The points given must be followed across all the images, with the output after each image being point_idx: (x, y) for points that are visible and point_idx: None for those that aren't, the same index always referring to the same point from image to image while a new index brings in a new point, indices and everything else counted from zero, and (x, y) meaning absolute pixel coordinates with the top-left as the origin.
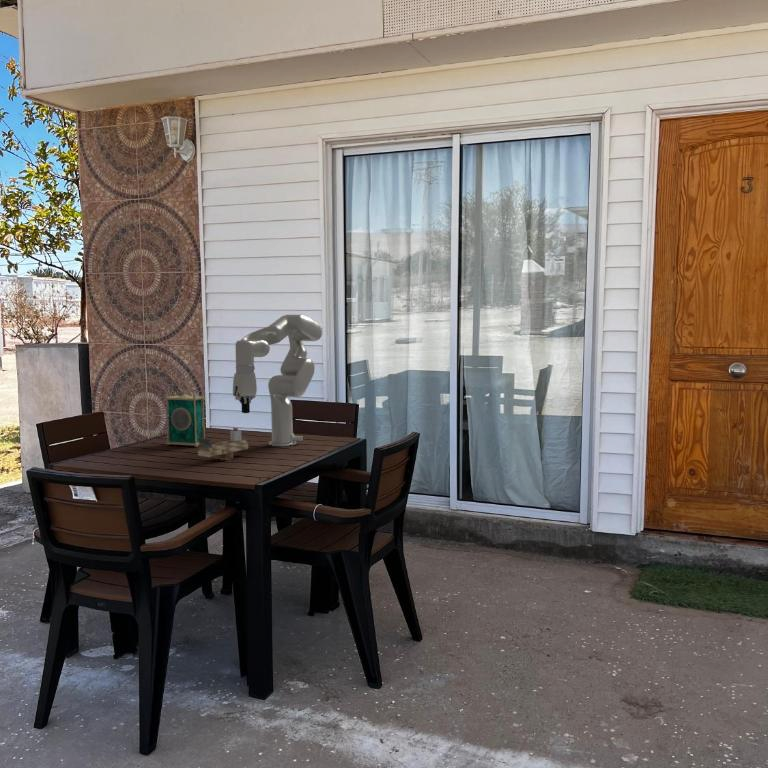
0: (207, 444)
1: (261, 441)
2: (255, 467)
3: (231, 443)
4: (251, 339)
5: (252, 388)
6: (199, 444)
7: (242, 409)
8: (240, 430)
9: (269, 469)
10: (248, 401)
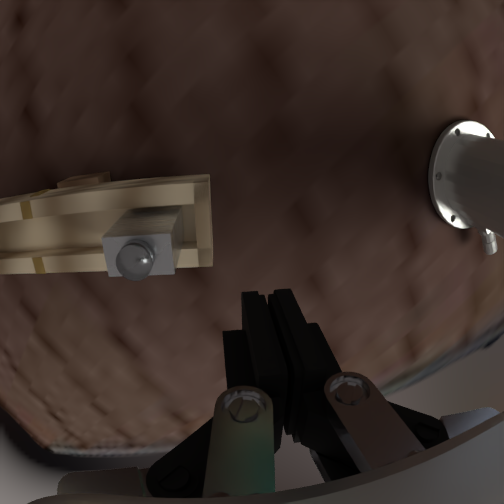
0: None
1: (471, 60)
2: (105, 386)
3: (94, 266)
4: None
5: None
6: None
7: (224, 348)
8: (167, 273)
9: (122, 418)
10: (313, 457)
